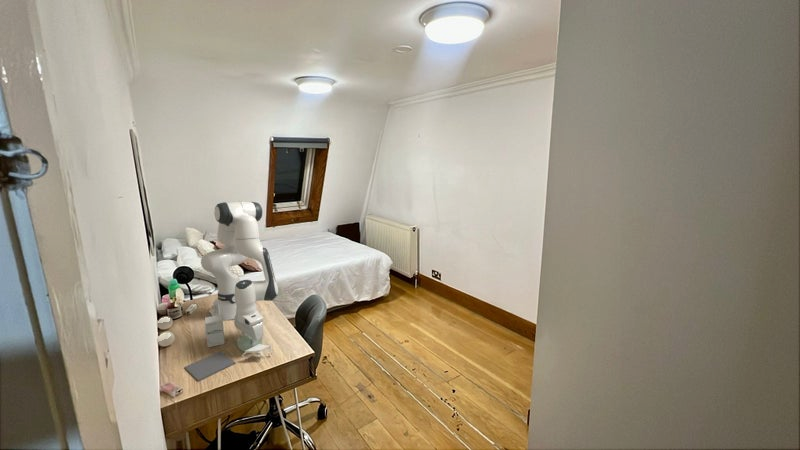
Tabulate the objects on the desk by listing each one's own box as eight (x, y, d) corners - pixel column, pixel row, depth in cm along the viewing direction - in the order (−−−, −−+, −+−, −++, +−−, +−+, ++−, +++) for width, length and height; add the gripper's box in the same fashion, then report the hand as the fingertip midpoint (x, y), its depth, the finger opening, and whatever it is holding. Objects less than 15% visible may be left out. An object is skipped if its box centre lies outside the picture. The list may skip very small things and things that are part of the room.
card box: (237, 347, 160) (236, 339, 159) (255, 338, 167) (255, 331, 166) (244, 351, 156) (243, 343, 155) (262, 343, 163) (261, 335, 162)
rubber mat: (184, 368, 144) (184, 366, 144) (220, 352, 156) (220, 350, 155) (198, 381, 136) (198, 380, 135) (235, 363, 147) (235, 362, 147)
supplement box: (207, 348, 159) (204, 323, 156) (207, 340, 165) (204, 316, 162) (225, 344, 162) (222, 320, 159) (224, 336, 168) (222, 313, 166)
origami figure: (268, 348, 158) (267, 339, 157) (273, 357, 152) (272, 347, 151) (240, 358, 151) (239, 348, 150) (245, 367, 145) (244, 356, 144)
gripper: (229, 311, 162) (232, 337, 165) (251, 324, 150) (254, 352, 152) (242, 306, 167) (245, 331, 170) (265, 318, 154) (267, 345, 157)
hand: (249, 341), depth 161 cm, fingers closed on card box, 6 cm apart
